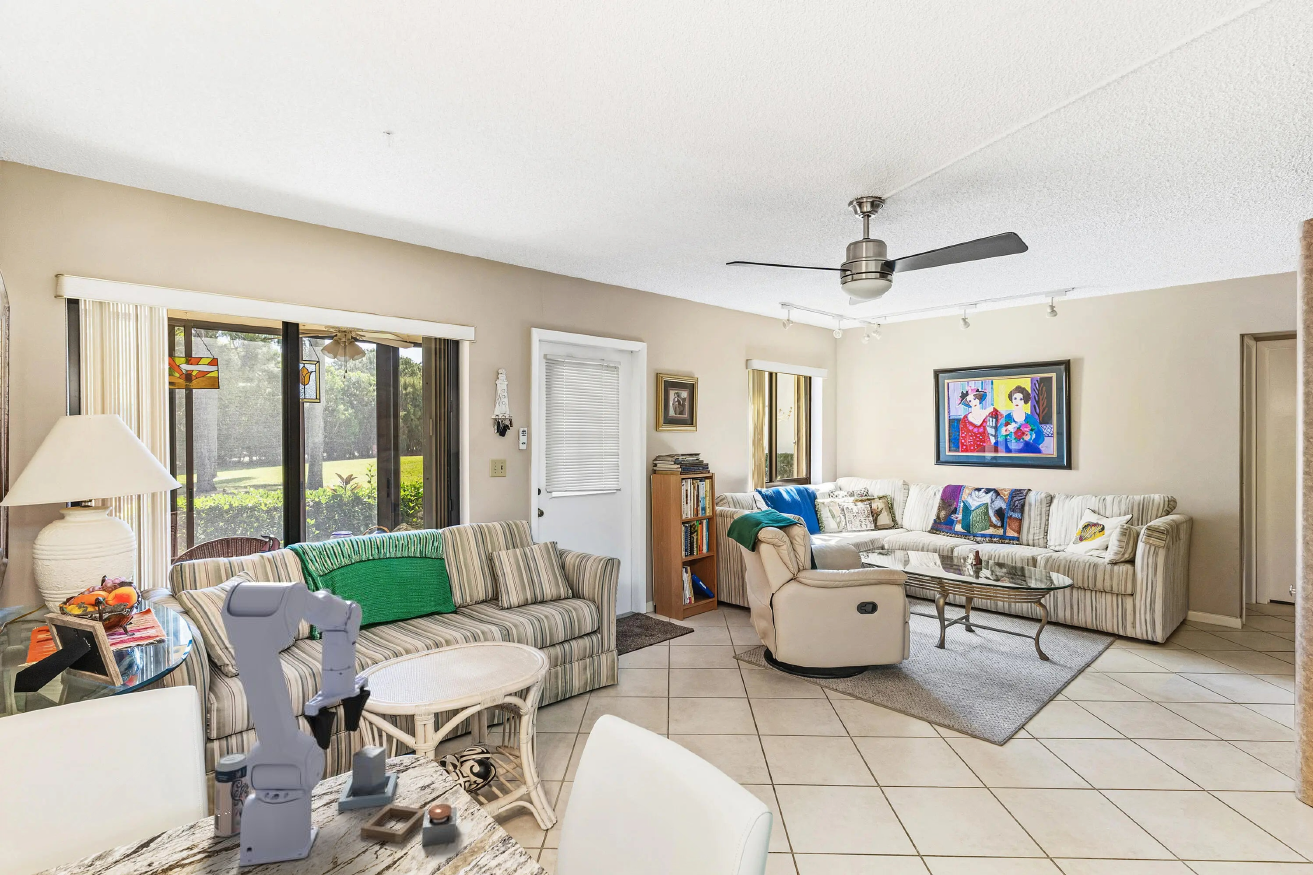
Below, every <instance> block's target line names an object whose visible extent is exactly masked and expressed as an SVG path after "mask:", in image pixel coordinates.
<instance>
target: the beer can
mask: <svg viewBox="0 0 1313 875" xmlns="http://www.w3.org/2000/svg"><path fill="white" fill-rule="evenodd" d="M247 756H248V754H246V753H245V752H233V753H229V754H226V755H223V756H221V757H220V758H219V760H218V761H217V763H216V765H215V767H214V809H213V810H214V812H213V813H214V816H213V817H214V819H213V832H214V835H215V836H216V837H222V838H229V837H234V836H237V835H238V834H241V816H242V811H243V807H244V803H245V801H246V799H247V797H248V796H249V795H250V788H249V786H248V783H247V778H246V776H247V763H246V758H247ZM229 812H230V813H229ZM225 813H227V814H225ZM218 815H220V816H218Z"/></svg>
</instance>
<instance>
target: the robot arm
mask: <svg viewBox="0 0 1313 875" xmlns="http://www.w3.org/2000/svg"><path fill="white" fill-rule="evenodd" d="M308 587H309V586H308V584H307V583H302V582H301V581H293V582H261V581H259V582H257V581H255V582H253V581H251V582H249V581H244V580H241V581H237V582H235V583H234V584H232V586H230V588H229V589H228V591H227V592H226V594H225V596H224V600H223V604H222V606H221V610H220V617H221V620H222V623H223V627H224V630H225V633H226V636H227V640H228V644H229V645H231V646H232V647H233V655H234V660H235V665H236V669H237V672H238V675H239V678H240V681H241V686H242V689H243V694H244V696H245V699H246V703H247V705H248V710H249V713H250V715H251V720H252V723H253V726H254V729H255V733H256V736H257V740H256V741H255V743H254V744H252V747H251V748H250V750H249V752H248V754H247V758H246V763H247V776H246V778H247V783H248V786H249V790H250V791H254V793H249V796H248V797H247V799H246V801H245V803H244V807H243V811H242V816H241V832H240V838H239V839H240V841H239V843H240V845H239V846H240V847H239V848H240V849H239V852H240V853H239V860H238V863H237V864H238V866H239V867H245V866H252V865H253V866H254V865H261V864H268V863H276V862H283V861H293V860H299V859H305V858H307V857H308V855H309V853H310V850H311V848H312V846H313V844H314V842H315V840H316V837H317V835H318V832H319V829H320V828H319V827H318V826H314V827H312V811H313V810H312V805H313V803H312V800H313V799H312V798H313V797H312V796H313V790H314V789H315V788H316V787H317V785H318V784H319V783H320V782H321V780H322V778H323V775H324V772H325V768H326V767H325V766H326V756H325V752H324V750H325V751H326V750H329V749H330V746H331V741H332V740H331V739H332V730H333V725H334V723H335V722H334V721H335V719H336V717H337V713H338V712H337V711H332V710H330V709H329V708H328V707H329V706H331V705H333V704H335V703H338V701H340V700H341V704H342V709H343V718H344V728H345V732H354V733H356V732H357V731H358V730H359V725H360V723H361V721H360V720H361V719H362V718H361V717H362V715H363V711H364V709H365V706H366V704H367V702H368V700H369V698H370V696H371V690H370V689H366V688H368V687H369V676H367V675H366V676H363V675H359V676H356V673H357V672H356V668H357V667H356V663H357V660H356V658H357V657H356V655H357V640H358V639H359V636H360V626H361V623H362V620H363V611H362V605H361V604H359V603H357V601H356V600H345V599H343V598H342V596H341V595H338V594H337V595H334V594H332V590H331V589H329V588H320V589H319V590H317V591H314V592H313V591H311V590H309V589H308ZM302 620H303V621H304V622H305V623H307V624H308V625H312V626H315V629H316V631H317V632H318V633H321V674H320V675H321V678H320V679H321V680H320V683H321V687H320V691H318V693H317V694H316V695H315V696H313V698H311V699H310V700H309V701H307V702H306V703H304V704H305V705H304V710H303V712H302V718H304V720H305V721H306V723H307V724H308V726H309V728H310V730H311V732H312V735H313V736H312V735H310V734H308V733H306V732H305V731H303V730H301V729H299V726H298V722H297V719H296V715H295V712H294V708H293V703H292V700H291V697H290V692H289V688H288V685H287V681H286V677H285V673H284V669H283V665H282V662H281V658H280V654H279V651H280V650H282V649H284V648H287V647H288V646H290V645H291V644H292V642H293V640H294V637H295V636H296V634H297V633H298V632H297V631H298V630H299V626H300V625H301V623H302Z"/></svg>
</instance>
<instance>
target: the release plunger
mask: <svg viewBox="0 0 1313 875" xmlns="http://www.w3.org/2000/svg"><path fill="white" fill-rule="evenodd" d="M451 808H452V806H451V805H449V804H447V803H439V804H436V805H433V806H432V807H430V808H429V809H428V810H429V812H428V816H429V818H431V819H432V823H436V822H444V821H448V816H449V815H450V814H451Z"/></svg>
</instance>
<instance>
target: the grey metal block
mask: <svg viewBox="0 0 1313 875" xmlns="http://www.w3.org/2000/svg"><path fill="white" fill-rule="evenodd" d="M386 756H387V747H384V746H376V745H368V744H367V745H365V746H364V747H362V748H360V749H359V750H358V751H357V752H355V753H354V754H352V770H351V771H352V774H351V776H352V791H351V797H360V796H369V795H378V794H384V793H386V784H385V777H386V774H387V773H386V771H387V770H386V764H387V762H386V761H387V757H386Z"/></svg>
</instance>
